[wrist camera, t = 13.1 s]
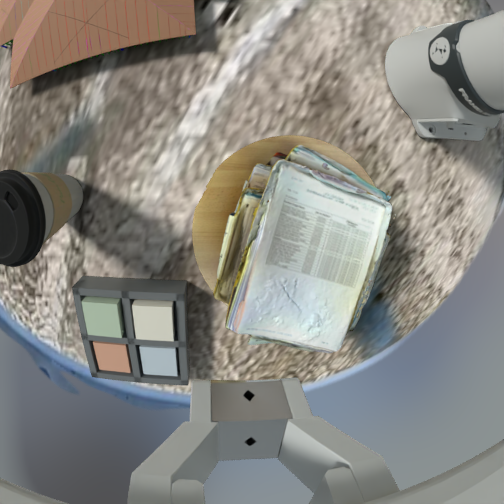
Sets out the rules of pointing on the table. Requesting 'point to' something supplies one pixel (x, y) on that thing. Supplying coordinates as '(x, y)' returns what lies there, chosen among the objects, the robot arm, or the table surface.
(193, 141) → the table surface
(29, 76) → the house
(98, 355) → the key terracotta
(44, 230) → the coffee cup
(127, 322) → the keypad
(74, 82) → the table surface
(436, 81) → the robot arm
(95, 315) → the key sage
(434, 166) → the table surface
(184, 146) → the table surface
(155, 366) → the key bluegrey
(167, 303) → the key cream
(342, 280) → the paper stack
